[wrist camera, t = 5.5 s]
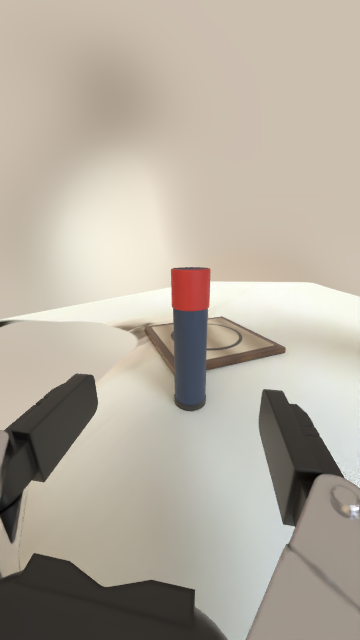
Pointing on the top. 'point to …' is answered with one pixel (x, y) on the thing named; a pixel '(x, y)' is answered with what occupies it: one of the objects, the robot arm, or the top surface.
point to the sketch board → (218, 343)
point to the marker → (190, 334)
